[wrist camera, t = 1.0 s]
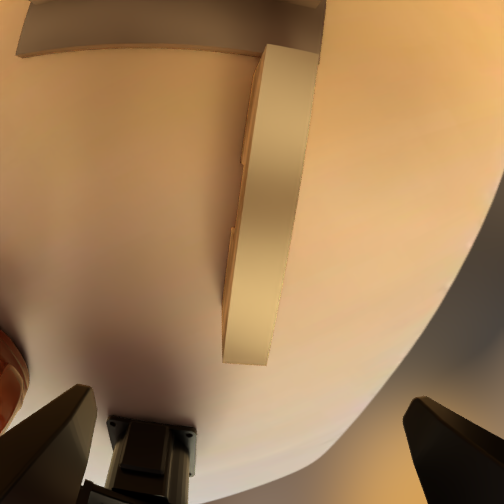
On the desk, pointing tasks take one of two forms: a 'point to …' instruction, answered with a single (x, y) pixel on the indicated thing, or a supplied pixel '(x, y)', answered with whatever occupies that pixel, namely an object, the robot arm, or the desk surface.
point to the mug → (11, 381)
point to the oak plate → (266, 200)
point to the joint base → (172, 25)
